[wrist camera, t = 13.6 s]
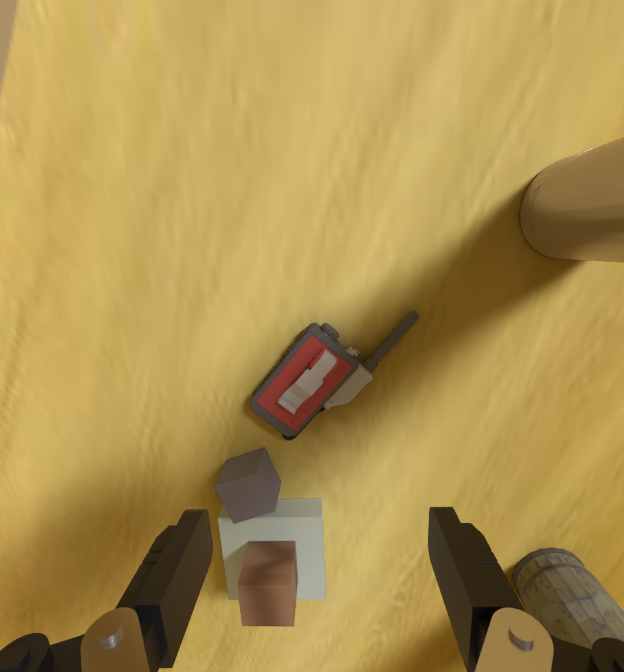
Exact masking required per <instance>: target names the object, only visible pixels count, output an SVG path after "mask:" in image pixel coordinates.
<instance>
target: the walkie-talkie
mask: <svg viewBox="0 0 624 672" xmlns="http://www.w3.org/2000/svg"><path fill="white" fill-rule="evenodd" d="M418 319H419V314H418V313H417V312H415V311H412V312H411V313H410V314H409V315H408V316H407V317H406V318H405V319H404V320H403V321H402V322H401V323H400V325H399V326H398V327H397V328H396V329H395V330H394V331H393V332H392V333H391V334H390V336H389V337H388V338H387V339H386V340H385V341H384V342H383V343H382V344H381V345H380V346H379V348H378V349H377V350H376V351H375V352H374V353H373V354H372V355H371V356H370V357H368V358H367V359H366V360H365V361H364V362H363V363H362V364H361V363H360V362H359V361H358V355H359V354H360V352H359V351H358V350H357V349H356V348H354V349H353V348H352V347H349V348H347V347H345V346H344V345H343V344H342V343H341V342H339V341H338V340H337V338H338V337H339V333H338V332H337V331H336V330H335V329H334V328H333V327H331V326H330V325H328V324H327V323H324V324H323V325H322V327H321V326H319V325H318V324H317V323H312V324H310V326H309V327H308V328H306V329H305V330H304V331H303V332H302V334H301V336H300V338H299V339H298V340H297V341H296V342H294V343H293V344H292V346H291V347H290V348H289V351H288V352H287V353H286V355H285V356H284V357H283V359H282V360H280V362H279V363H278V364H277V366H276V367H274V370H272V371H271V373H270V374H269V375H268V377H266V378H265V380H264V381H263V382H262V384H260V386H259V388H257V389H256V391H254V393H253V395H252V397H251V400H250V404H251V410H252V411H253V412H254V413H255V414H257V415H258V416H259V417H261V418H262V419H263V420H265V421H266V422H268V423H269V424H270V425H272V426H273V427H274V428H276V429H277V430H278V431H280V432H281V433H282V436H283V437H284V439H285V440H292V439H294V438H296V437H297V435H298V434H299V433H300V432H301V431H302V430H303V429H304V428H305V427H306V426H307V424H308V423H309V422H310V421H311V420H312V419H313V418H314V417H315V416H316V415H317V414H318V413H319V412H322V411H324V410H325V409H327V410H329V409H330V408H331V407H334V406H338V405H343V404H348V403H349V402H350V401H351V400H352V399H353V398H354V397H355V396H356V395H357V394H358V393H359V392H360V391H361V389H362V388H363V387H364V386H365V385H366V384H367V383H370V382H371V381H372V380H373V379H374V376H373V374H372V371H373V370H374V369H375V367H376V366H377V365H378V362H379V361H380V360H381V359H382V358H383V357H384V356H385V355H386V354H387V352H388V351H389V350H390V349H391V348H392V347H393V346H394V345H395V344H396V343H397V342H398V340H399V339H400V338H401V337H402V336H403V335H404V334H405V333H406V332H407V331H408V330H409V329H410V327H411V326H412V325H413V324H414V323H415V322H416V321H417V320H418ZM263 386H264V387H263Z"/></svg>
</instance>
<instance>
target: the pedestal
mask: <svg viewBox="0 0 624 672" xmlns="http://www.w3.org/2000/svg"><path fill="white" fill-rule="evenodd" d="M218 525H219V532H220V539H221V547H222V554H223V561H224V568H225V576H226V583H227V590H228V597H229V600H239V595H238V587H237V584H238V580H239V576H240V572H241V568H242V565H243V561H244V557H245V553H246V549H247V546H248V542H249V541H296V556H297V571H298V585H297V596H296V600H326V571H325V551H324V531H323V511H322V498H321V499H278V500H277V505H276V510H275V512H272V513H268V514H265V515H262V516H259V517H255V518H252V519H249V520H246V521H242V522H239V523H236V524H233V522H232V521H231V519H230V517H229V515H228V513H227V511H226V509H225V507H224V505H223V506H222V508H221V511H220V513H219V516H218Z"/></svg>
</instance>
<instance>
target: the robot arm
mask: <svg viewBox="0 0 624 672" xmlns="http://www.w3.org/2000/svg"><path fill="white" fill-rule="evenodd" d="M520 224H521V228H522V232H523V234H524V236H525V238H526V240H527V242H528V243H529V244H530V245H531V247H532V248H533V249H535V250H536V251H538V252H539V253H540V254H543V255H545V256H548V257H551V258H558V259H573V260H587V261H605V262H624V137H623V138H620V139H618V140H615V141H612V142H609V143H607V144H604V145H601V146H598V147H596V148H592V149H590V150H587V151H584V152H581V153H579V154H576V155H573V156H570V157H568V158H565V159H562V160H560V161H558V162H556V163H554V164H552V165H550V166H548V167H547V168H546V169H544V170H543V171H542V172H540V174H539V175H538V176H537V177H536V178H535V179H534V180H533V181H532V183H531V184H530V186H529V188H528V189H527V191H526V193H525V196H524V198H523V201H522V205H521V210H520ZM428 550H429V556H430V561H431V564H432V567H433V570H434V573H435V576H436V579H437V582H438V585H439V588H440V591H441V595H442V598H443V601H444V604H445V607H446V610H447V613H448V616H449V619H450V622H451V625H452V628H453V631H454V634H455V637H456V640H457V643H458V646H459V649H460V652H461V655H462V658H463V661H464V664H465V667H466V670H467V672H624V641H621V640H619V639H615V638H609V637H603V638H599V639H597V640H596V641H595V642H594V643H593V646H592V649H589V648H586V647H583V646H580V645H577V644H574V643H570V642H567V641H564V640H561V639H559V638H556V637H554V636H552V635H550V634H549V633H548V632H547V631H546V629H545V628H544V627H543V626H542V625H541V623H539V622H538V621H537V620H536V619H535V618H533V617H532V616H531V615H529V614H527V613H526V612H525V611H524V609H523V607H522V605H521V604H520V602H519V600H518V598H517V596H516V594H515V592H514V591H513V589H512V587H511V585H510V583H509V581H508V580H507V578H506V576H505V574H504V572H503V570H502V569H501V567H500V565H499V564H498V563H497V559H496V557H495V556H494V554H493V552H491V548H490V546H489V545H488V543H487V541H486V539H485V537H484V535H483V534H482V533H481V532H480V531H479V530H477V529H476V528H475V527H474V526H473V525H472V524H471V523H460V521H459V519H458V516H457V514H456V512H455V510H454V509H453V507H430V509H429V529H428ZM212 553H213V542H212V535H211V528H210V521H209V514H208V511H207V510H206V509H193V510H185V511H184V512H183V514H182V516H181V518H180V520H179V521H178V523H177V525H171V526H168V527H167V528H166V529H165V530H164V531H163V532H162V533H161V534H160V535H159V536H157V538H156V539H155V541H154V543H153V544H152V546H151V548H150V550H149V553H147V555H146V557H145V558H144V560H143V563H142V565H140V567H139V569H138V570H137V572H136V574H135V575H134V577H133V579H132V581H131V582H130V584H129V586H128V587H127V589H126V591H125V593H124V594H123V596H122V598H121V599H120V601H119V603H118V605H117V606H116V608H115V609H114V610H111V611H109V612H107V613H105V614H104V615H102V616H101V617H100V618H98V619H97V620H96V621H95V622H94V623H93V624H92V625H91V626H90V627H89V629H88V630H87V632H86V633H85V634H83V635H81V636H78V637H75V638H71V639H68V640H65V641H62V642H59V643H56V644H53V645H50V644H49V641H48V638H47V637H46V636H45V635H44V634H41V633H32V634H28V635H25V636H23V637H20V638H18V639H16V640H15V641H13V642H11V643H10V644H8V645H7V646H6V647H4V648H3V649H2V650H1V651H0V672H158V670H159V668H172V667H173V664H174V662H175V659H176V656H177V653H178V651H179V648H180V645H181V643H182V640H183V637H184V634H185V632H186V629H187V626H188V623H189V621H190V618H191V615H192V612H193V610H194V607H195V604H196V601H197V599H198V596H199V593H200V590H201V588H202V585H203V582H204V580H205V577H206V574H207V571H208V569H209V566H210V563H211V559H212Z"/></svg>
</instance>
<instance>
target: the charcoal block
mask: <svg viewBox="0 0 624 672" xmlns="http://www.w3.org/2000/svg"><path fill="white" fill-rule="evenodd" d="M280 485H281V480H280V478H279V476H278V474H277V472H276V470H275V468H274V465H273V463H272V461H271V459H270V457H269V455H268V453H267V451H266V449H265V447H263V448H260V449H257V450H255V451H252V452H249V453H246V454H243V455H240V456H237V457H234V458H231V459H228V460H226V462H225V464H224V467H223V469H222V471H221V473H220V475H219V477H218V479H217V481H216V484H215V486H214V488H215V490H216V492H217V494H218V496H219V498H220V500H221V502H222V504H223V505H224V507H225V509H226V511H227V513H228V515H229V517H230V519H231V521H232V522H233V524H236V523H239V522H242V521H246V520H249V519H252V518H255V517H259V516H262V515H265V514H268V513H272V512H275V510H276V505H277V500H278V495H279V490H280Z"/></svg>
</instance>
